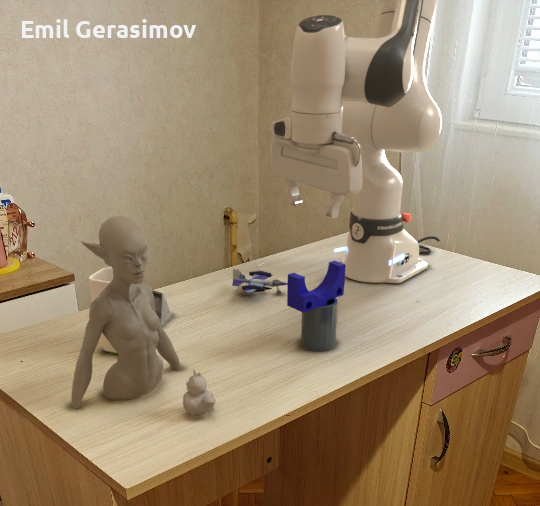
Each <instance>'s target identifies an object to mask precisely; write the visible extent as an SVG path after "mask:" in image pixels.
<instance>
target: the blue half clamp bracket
mask: <svg viewBox="0 0 540 506" xmlns="http://www.w3.org/2000/svg"><path fill="white" fill-rule="evenodd" d="M327 266H328V267H327V271H326V274H325V276H324V277H323V279H322V281H321V282H320V283H319V284H318V285H317V286H316V287H315V288H313V289H311V290H308V288H307V285H306V277H305V276H303V275H301V274H298V273H296V272H291V273H288V274H287V283H288V285H287V286H286V287H287V293H286V294H287V296H286V306H287V307H289V308H291V309H294V310H295V311H298V312H300V313H302V312H303V313H304V312H307V311H310V310H313V309H316V308H319V307H322V306H325V305H327V300H330V299H333V298H339V297H342V296H344V295H345V280H346V276H345V268H346V265H345V264H343V263H342V262H340V261H337V260H332V261H329V262H328V265H327Z"/></svg>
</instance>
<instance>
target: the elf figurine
mask: <svg viewBox="0 0 540 506" xmlns="http://www.w3.org/2000/svg"><path fill="white" fill-rule="evenodd" d="M98 242H99V244H98V243H92V242H91V243H90V242H85V241H82V240H81V241H80V243H82V245H83V246H84V247H86V249H88V250H89V251H91V253H93V254H94V255H95V256H96V257H98V258H100V259H102V260H103V261H104V263H105V265H107V267H112V269H113V280H112V281H111V282H110V283H109V284H108V285H107V286H106V288H105V289H104V290H103V291H102V292H101V293H100V294H99V297H98V298H96V299H95V300H94V301H93V302H92V301H91V303H90V306H89V312H88V321H87V323H86V326H85V331H84V336H83V340H82V344H81V347H80V350H79V353H78V354H79V355H78V358H77V361H76V363H75V369H74V374H73V381H72V387H71V394H70V395H71V398H70V399H71V400H70V401H71V402H70V403H71V408H73V409H79V408H81V406H82V402H83V399H84V396H85V394H86V392H87V391H88V388H89V385H90V384H91V381H92V376H93V358H94V354H95V351H96V349H97V346H98V344H99V342H100V340H101V339H100V336H101V334H102V333H103V334H104V336H105V337H106V338H107V340H108V341H109V343H110V344H111V345H112V347H113V348H114V350H115V351H116V352H117V353H118V354H117V361H115V363H113V364H112V365H111V366H110V367H109V369H108V370H107V371H106V373H105V375H104V378H103V383H102V391H103V395H104V396H105V398H107V399H108V400H112V401H123V400H124V401H125V400H132V399H137V398H140V397H142V396H145V395H147V394H151V392H153V391H154V390H155V389H156V388H157V387H158V386H159V385H160V383H161V381H162V378H163V372H164V361H163V359H164V360H165V362H167V364H169V366H170V367H171V369H172V370H174V371H180V370H181V369H182V367H181V361H180V358H179V356H178V354H177V352H176V350H175V347H174V345H173V343H172V341H171V339H170V337H169V335H168V333H167V332H166V331H165V329H164V328H163V326H161V325H160V322H159V318H158V316H157V314H156V312H155V308H154V296H153V292H152V290H153V289H152V288H151V286H150V285H148V284H145V283H144V284H143V282H144V280H145V279H144V278H145V271H146V266H147V264H148V242H147V239H146V236H145V234H144V232H143V231H142V229H141V227H140V226H139V225H138V224H137V223H136V221H134V220H132V219H131V218H129V217H126V216H123V215H115V216H111V217H109V218H107V219H106V220H105V221H104V222H103V223H102V224H101V225H100V228H99V230H98ZM157 352H158V353H157ZM158 354H159V355H158ZM160 356H161V357H160Z"/></svg>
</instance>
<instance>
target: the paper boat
mask: <svg viewBox="0 0 540 506" xmlns="http://www.w3.org/2000/svg"><path fill="white" fill-rule="evenodd" d="M151 290H152V292H153V296H154V308H155V312H156V314H157V316H158V318H159V322H160V325H161V327H163V326H164V325H165V324H166V322H168V321H169V320H170V319H171V318H172V317H173V316H172V313H171V309H170V307H169V303H168V300H167V296H166V293H164V292H160V291H157V290H153V289H151Z"/></svg>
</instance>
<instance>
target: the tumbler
mask: <svg viewBox="0 0 540 506" xmlns="http://www.w3.org/2000/svg"><path fill="white" fill-rule="evenodd" d="M338 309H339V299H338V297H336V298H333V299H330V300H327V305H325V306H322V307H319V308H316V309H313V310H310V311H307V312H304V313H303V312H301V327H300V328H301V329H300V346H302V347H303V348H304V349H306V350H309V351H313V352H326V351H329V350H332V349H334V348H335V347H336V341H337V324H338V311H339V310H338Z"/></svg>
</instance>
